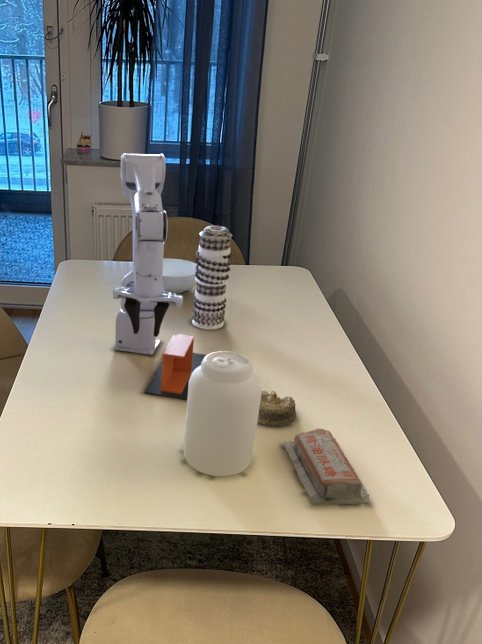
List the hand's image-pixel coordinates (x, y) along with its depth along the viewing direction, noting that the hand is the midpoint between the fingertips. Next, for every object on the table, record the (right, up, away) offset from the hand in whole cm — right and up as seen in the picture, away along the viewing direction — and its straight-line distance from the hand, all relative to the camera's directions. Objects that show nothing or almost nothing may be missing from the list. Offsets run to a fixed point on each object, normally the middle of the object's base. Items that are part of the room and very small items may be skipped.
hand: (146, 333), depth 139 cm
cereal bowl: (+7, +20, +53) cm, 57 cm away
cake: (+26, -18, -7) cm, 32 cm away
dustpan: (+7, -9, +5) cm, 13 cm away
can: (+13, -26, -21) cm, 35 cm away
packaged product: (+31, -28, -24) cm, 49 cm away
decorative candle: (+16, +7, +32) cm, 37 cm away
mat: (+11, -9, +6) cm, 15 cm away
